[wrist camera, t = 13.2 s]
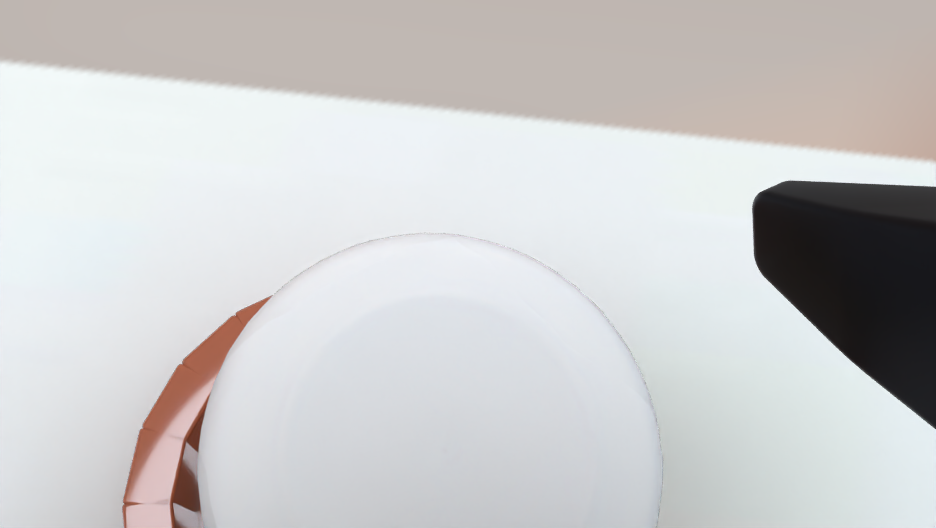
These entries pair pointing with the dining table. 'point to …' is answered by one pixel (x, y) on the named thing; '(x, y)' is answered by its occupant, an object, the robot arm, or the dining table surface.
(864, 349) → the robot arm
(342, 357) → the sprinkles bottle
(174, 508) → the bowl
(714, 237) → the dining table surface
